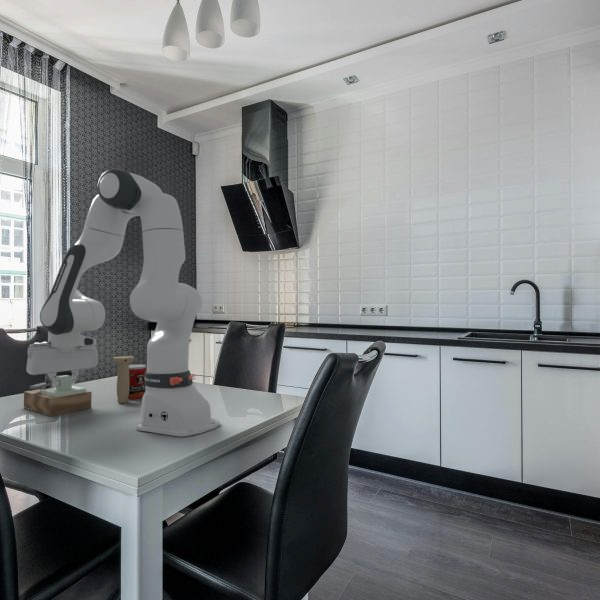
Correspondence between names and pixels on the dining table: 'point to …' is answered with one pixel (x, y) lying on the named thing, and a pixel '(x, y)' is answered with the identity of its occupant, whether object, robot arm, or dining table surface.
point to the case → (56, 402)
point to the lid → (63, 388)
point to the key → (43, 384)
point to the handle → (123, 377)
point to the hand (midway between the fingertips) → (63, 385)
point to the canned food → (137, 381)
